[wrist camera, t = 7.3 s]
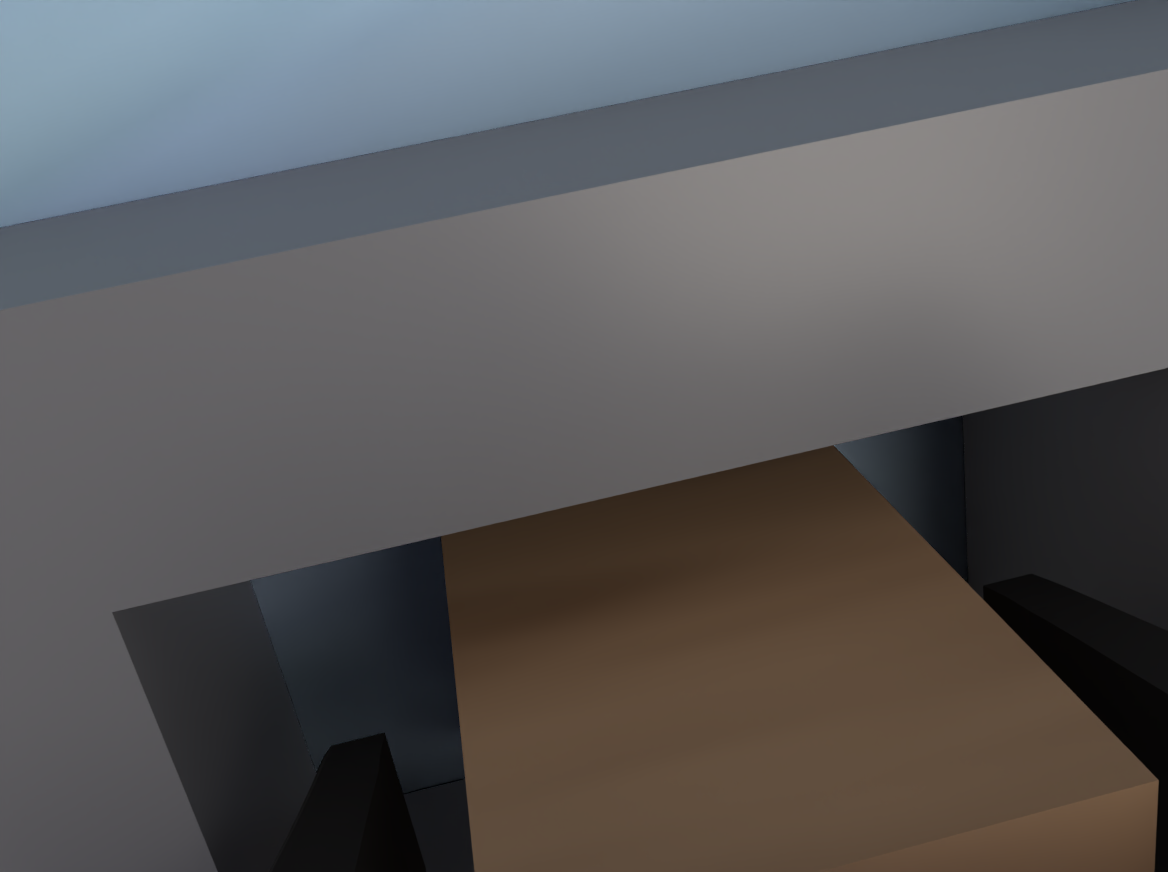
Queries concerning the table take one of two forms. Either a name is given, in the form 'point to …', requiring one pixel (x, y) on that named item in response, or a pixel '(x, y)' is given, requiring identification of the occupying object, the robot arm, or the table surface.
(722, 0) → the table surface
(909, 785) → the walnut block
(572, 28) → the table surface
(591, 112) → the well block
